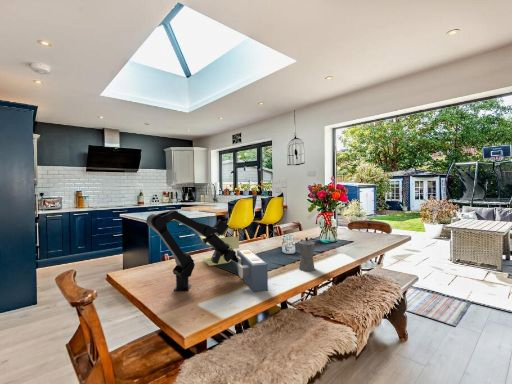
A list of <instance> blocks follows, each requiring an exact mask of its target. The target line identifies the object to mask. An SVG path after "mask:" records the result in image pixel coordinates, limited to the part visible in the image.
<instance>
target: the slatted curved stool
mask: <svg viewBox="0 0 512 384" xmlns="http://www.w3.org/2000/svg"><path fill="white" fill-rule="evenodd" d="M198 236H199V238H200V240H201V242H202V243H203V240H202V239H205V238H206V237H204V236H200V235H198ZM217 236H218V235H217ZM218 237H219V238H220V239H222V240H223V241H224V242H225V243H227V244H228V245H229V247H230V248H232V249H233V250H238V249H240V240H239V238H238V236H227V237H226V236H225V235H224V234H223V236H221V235H220V236H218ZM205 245H207V246H209V247H210V246H211V245H210V244H209V243H208V242H207V243H206V244H205ZM230 248H229V249H230ZM212 256H213V255H212ZM212 256H207V257H202V261H203V262H204V263H205V264H207V265H208V266H209V267H210V266H216V265H222V264H228V263H231V262H232V260H230V261H229V262H227V261H225V259H224V255H223V256H221V257H220V259H219V262H218V264H216V263H215V264H214V263H213V262H212V261H211V258H212Z"/></svg>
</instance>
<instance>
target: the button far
mask: <svg viewBox="0 0 512 384" xmlns="http://www.w3.org/2000/svg"><path fill="white" fill-rule="evenodd" d="M236 256H237V255H236ZM237 259H238V261H239V262H238V263H237V262H236V267H237V266H238V267H239V264H240V265H241V266H242V259H241V258H240V257H239V256H237Z"/></svg>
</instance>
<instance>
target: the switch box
mask: <svg viewBox="0 0 512 384" xmlns="http://www.w3.org/2000/svg"><path fill="white" fill-rule="evenodd" d="M236 256H239V257H240V258H241V259H242V265H248V266H249V274H250V276H243V278H242V279H243V281H244V282H245V284H246V286H248V288H249V289H250V290H251V291H252V293H258V292H264V291H265V292H266V291H268V290H269V282H268V281H269V280H268V279H269V278H268V277H269V276H268V271H269V270H268V267H269V266H268V263H267V262H265V261H264V260H263V259H262V258H261V257H260V256H258V255H257V254H256V253H254V251H252V250H251V249H240V250H239V249H236ZM236 270H237V274H239V267H238V266H237V265H236Z"/></svg>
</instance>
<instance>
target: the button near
mask: <svg viewBox="0 0 512 384" xmlns="http://www.w3.org/2000/svg"><path fill="white" fill-rule="evenodd" d="M238 276H239V277H240V279H243V276H250V274H249V266H248V265H242V266H241V265H240V264H239V273H238Z"/></svg>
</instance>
